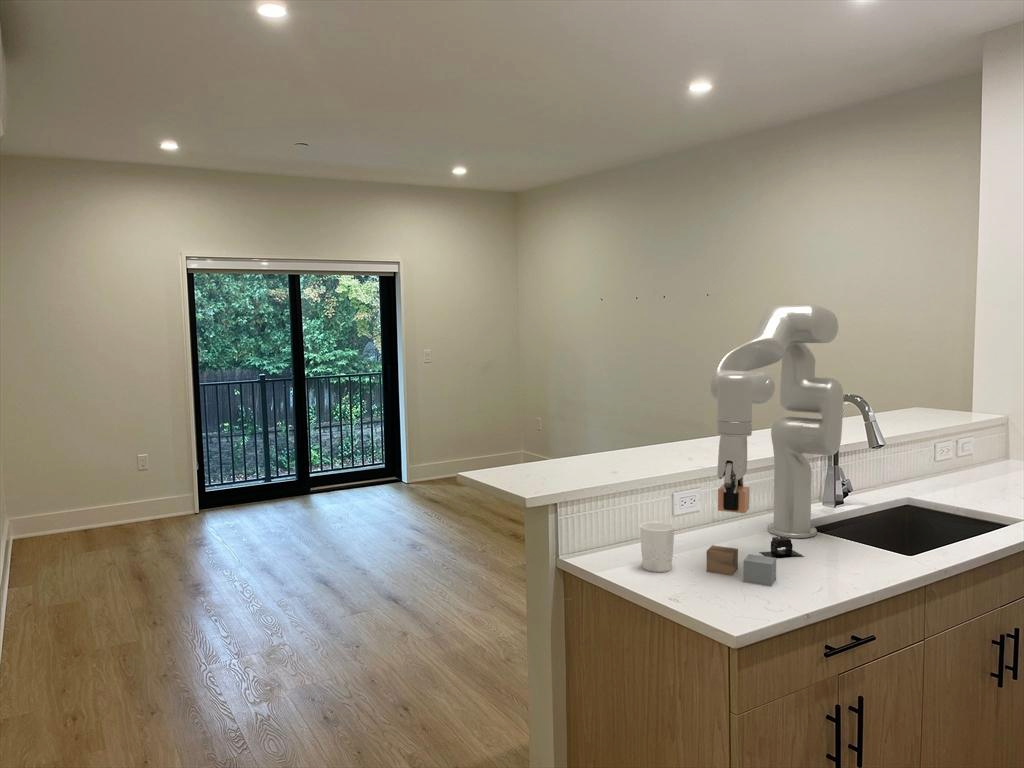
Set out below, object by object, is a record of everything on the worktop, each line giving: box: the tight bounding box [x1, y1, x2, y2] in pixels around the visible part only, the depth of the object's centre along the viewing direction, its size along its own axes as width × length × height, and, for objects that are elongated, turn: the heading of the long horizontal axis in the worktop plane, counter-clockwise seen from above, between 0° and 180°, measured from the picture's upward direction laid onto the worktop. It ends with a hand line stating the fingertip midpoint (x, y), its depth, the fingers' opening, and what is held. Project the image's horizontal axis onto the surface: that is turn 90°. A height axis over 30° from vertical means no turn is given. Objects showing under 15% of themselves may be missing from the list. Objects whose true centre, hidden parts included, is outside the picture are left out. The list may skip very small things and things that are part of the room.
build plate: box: [758, 536, 805, 560], centre depth 182 cm, size 12×7×5 cm, turn 99°
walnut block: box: [705, 544, 739, 577], centre depth 171 cm, size 5×6×5 cm
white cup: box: [639, 521, 675, 573], centre depth 174 cm, size 8×8×10 cm
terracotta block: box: [717, 484, 751, 514], centre depth 169 cm, size 5×6×5 cm
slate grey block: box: [742, 553, 777, 587], centre depth 164 cm, size 5×6×5 cm
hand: (733, 506), depth 169 cm, fingers closed on terracotta block, 5 cm apart
